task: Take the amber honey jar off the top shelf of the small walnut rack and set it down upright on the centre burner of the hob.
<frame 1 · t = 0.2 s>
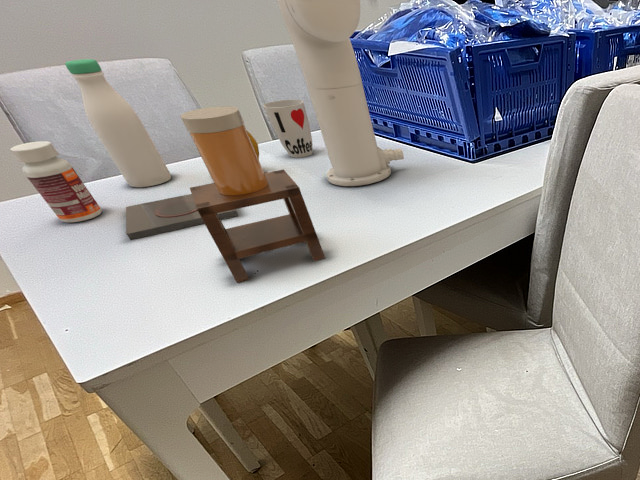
rack: (276, 258, 66), on the table
hob: (183, 214, 78), on the table
pill bottle: (83, 217, 79), on the table
apple: (246, 174, 94), on the table
cup: (301, 155, 103), on the table
milk bottle: (151, 182, 91), on the table
honey jar: (243, 187, 59), point 10 cm above the table, touching rack
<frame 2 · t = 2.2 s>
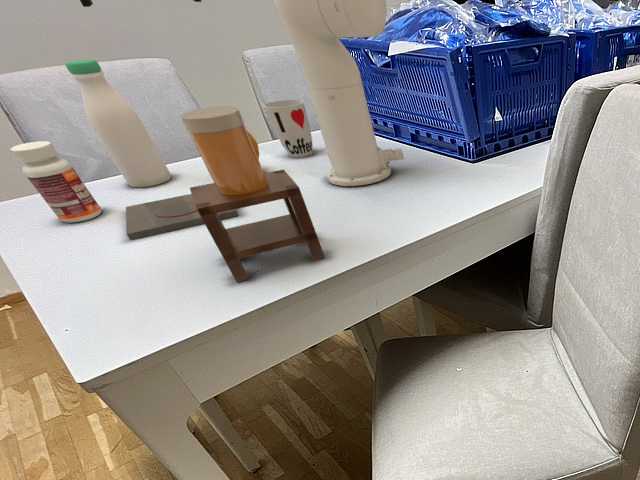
hand: (145, 3, 46), 28 cm above the table, tool pointing down, fingers open, 9 cm apart
nothing on the table moved.
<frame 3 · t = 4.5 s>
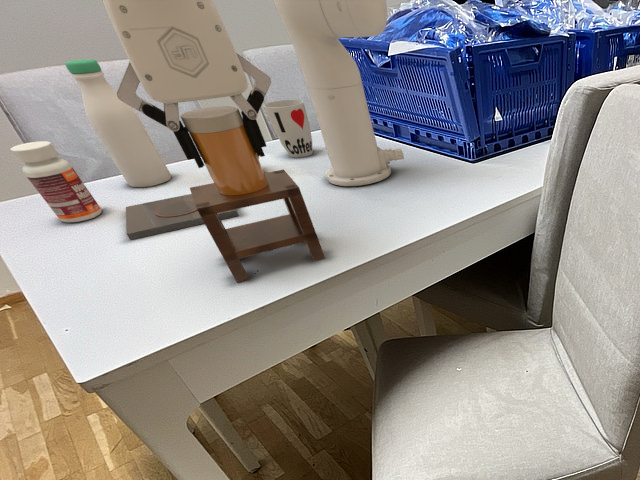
hand: (230, 158, 56), 14 cm above the table, tool pointing down, fingers closed on honey jar, 6 cm apart
honey jar: (243, 187, 59), point 10 cm above the table, touching gripper, rack
everything else where it was.
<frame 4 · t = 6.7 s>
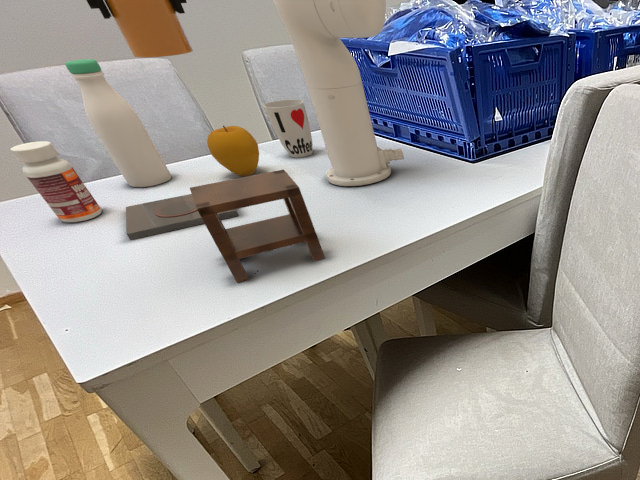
hand: (144, 13, 49), 27 cm above the table, tool pointing down, fingers closed on honey jar, 6 cm apart
honey jar: (163, 53, 52), point 24 cm above the table, touching gripper
everything else where it was.
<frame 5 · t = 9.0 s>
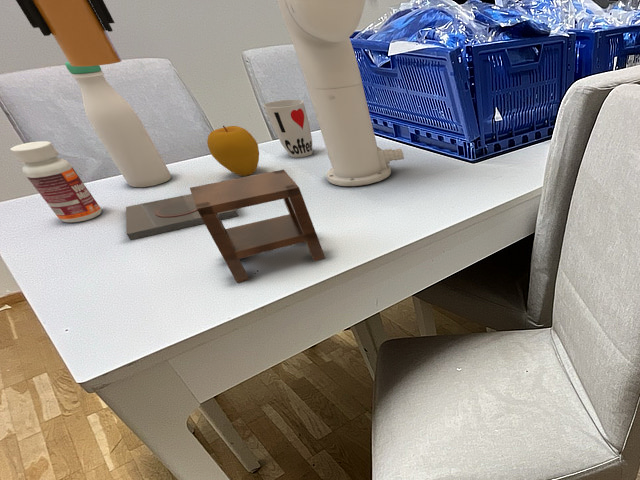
hand: (78, 31, 61), 25 cm above the table, tool pointing down, fingers closed on honey jar, 6 cm apart
honey jar: (96, 63, 63), point 22 cm above the table, touching gripper
everything else where it was.
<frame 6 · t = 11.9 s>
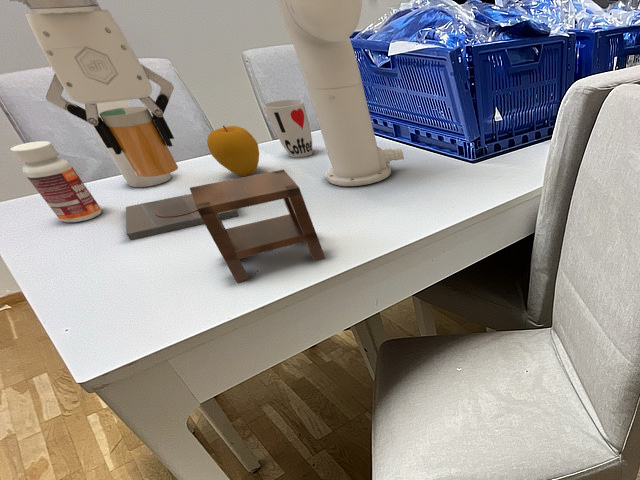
hand: (144, 147, 71), 11 cm above the table, tool pointing down, fingers closed on honey jar, 6 cm apart
honey jar: (157, 171, 73), point 7 cm above the table, touching gripper
everything else where it was.
when the fingers open (5 cm above the table, at t = 13.8 s): honey jar stays where it is, resting on hob.
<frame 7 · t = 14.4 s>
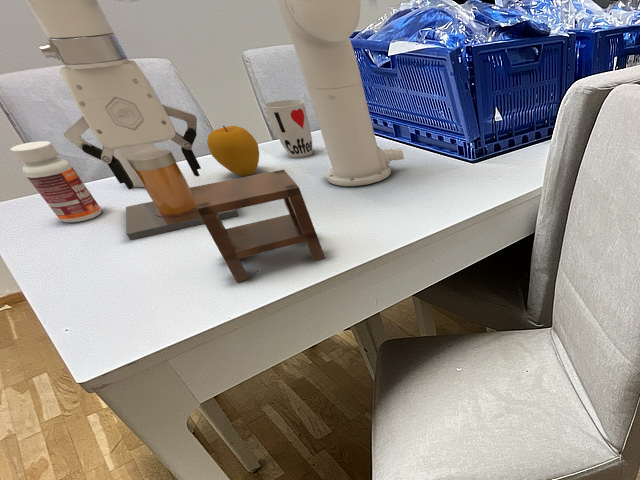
hand: (164, 180, 75), 6 cm above the table, tool pointing down, fingers open, 9 cm apart
honey jar: (179, 207, 78), point 1 cm above the table, touching hob
everything else where it was.
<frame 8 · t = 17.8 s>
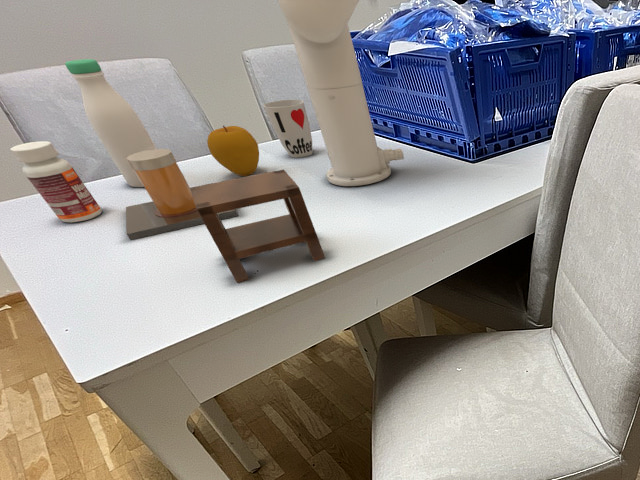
nothing on the table moved.
at the end: honey jar inside the target area on the hob (0.1 cm from its centre), point 1.1 cm above the hob's base; honey jar tilted 0°; the gripper is holding nothing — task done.
